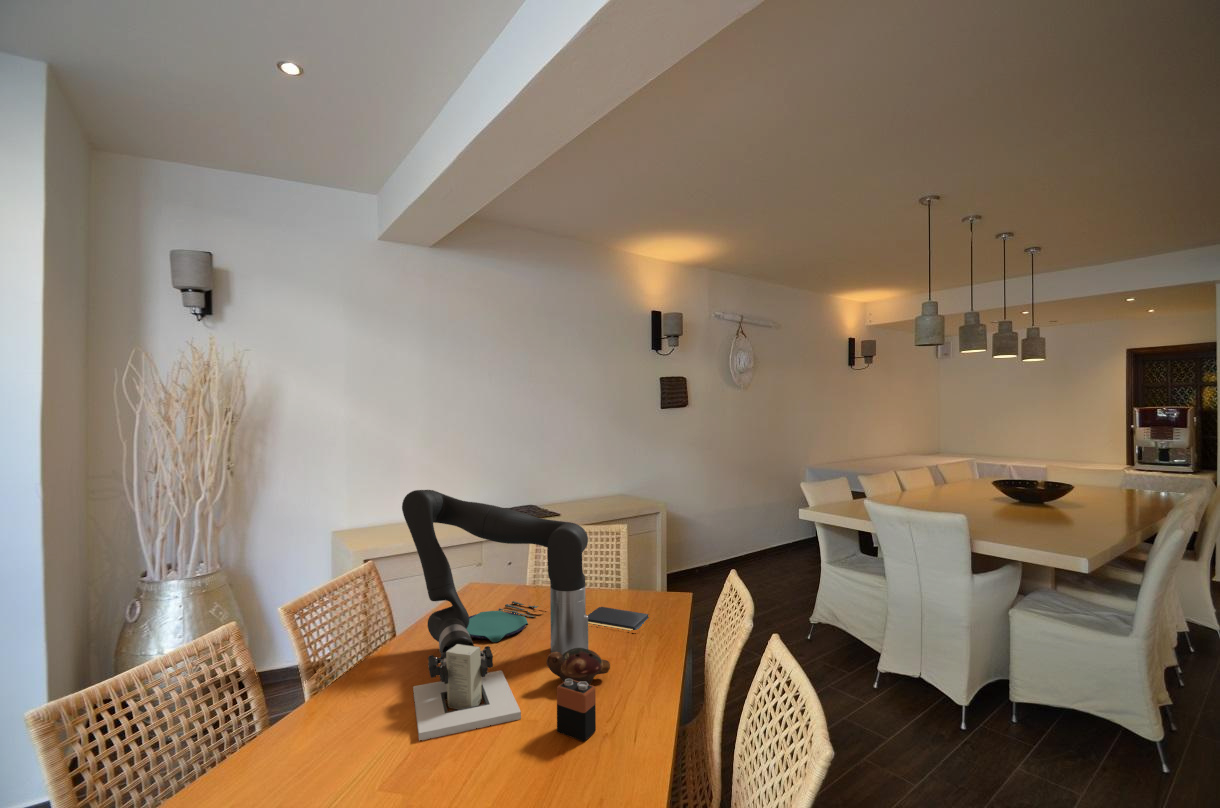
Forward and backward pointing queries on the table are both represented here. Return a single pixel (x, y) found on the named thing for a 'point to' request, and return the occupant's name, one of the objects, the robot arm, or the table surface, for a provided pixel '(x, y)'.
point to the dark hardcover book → (617, 618)
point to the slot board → (442, 722)
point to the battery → (576, 709)
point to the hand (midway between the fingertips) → (465, 675)
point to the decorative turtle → (577, 665)
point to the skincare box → (463, 676)
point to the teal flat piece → (497, 623)
